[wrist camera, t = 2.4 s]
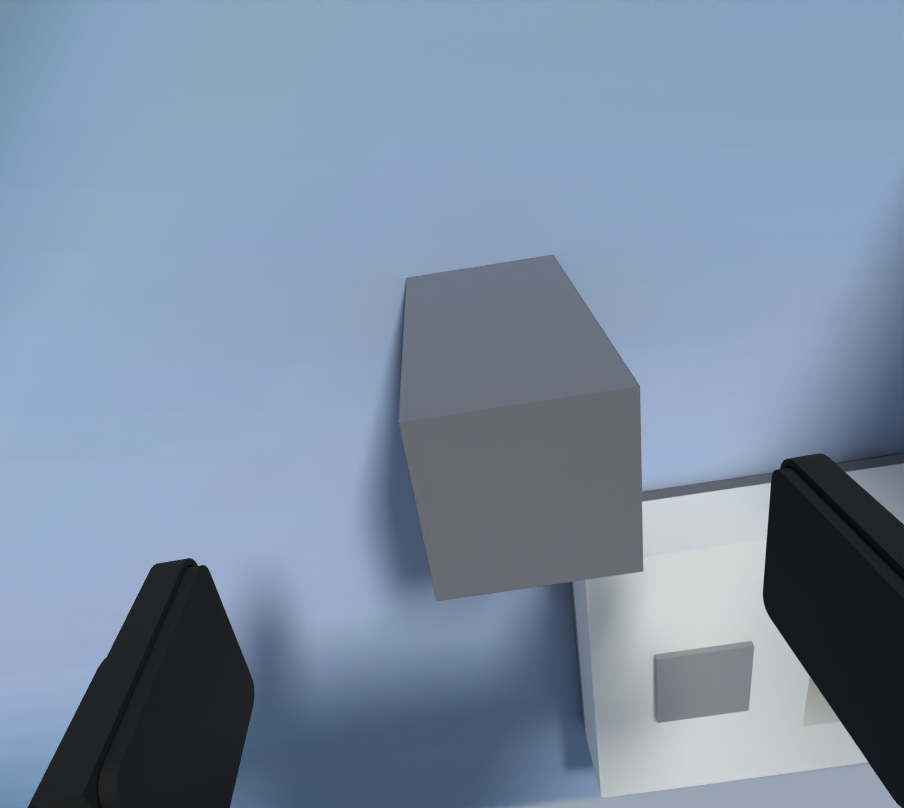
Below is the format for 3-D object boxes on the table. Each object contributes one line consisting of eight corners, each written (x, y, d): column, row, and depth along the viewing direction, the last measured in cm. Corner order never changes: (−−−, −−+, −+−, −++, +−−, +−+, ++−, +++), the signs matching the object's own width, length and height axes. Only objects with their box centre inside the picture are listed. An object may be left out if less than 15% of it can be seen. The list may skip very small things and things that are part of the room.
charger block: (553, 254, 18) (640, 386, 11) (563, 386, 20) (643, 571, 13) (406, 278, 18) (398, 422, 11) (430, 407, 20) (436, 601, 13)
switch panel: (1193, 410, 21) (1329, 474, 18) (1090, 655, 26) (1183, 737, 23) (563, 503, 22) (588, 580, 19) (583, 724, 27) (605, 814, 24)
